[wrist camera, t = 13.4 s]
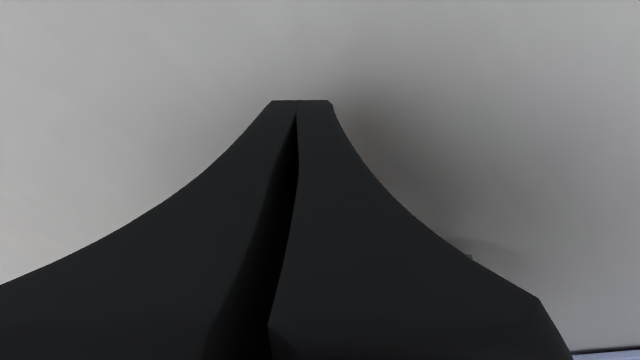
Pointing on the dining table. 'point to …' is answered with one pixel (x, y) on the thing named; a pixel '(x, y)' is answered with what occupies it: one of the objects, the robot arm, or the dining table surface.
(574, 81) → the dining table surface
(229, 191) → the robot arm
